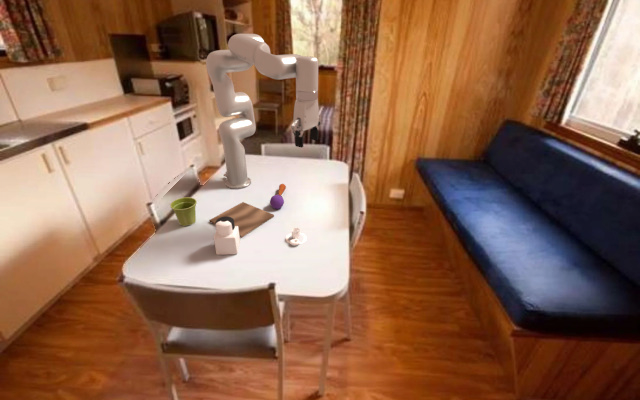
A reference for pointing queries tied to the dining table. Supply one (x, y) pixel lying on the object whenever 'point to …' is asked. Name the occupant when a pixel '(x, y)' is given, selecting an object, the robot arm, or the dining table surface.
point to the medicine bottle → (226, 236)
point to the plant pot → (185, 210)
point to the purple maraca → (278, 198)
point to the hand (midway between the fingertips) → (307, 143)
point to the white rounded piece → (296, 237)
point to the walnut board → (245, 217)
